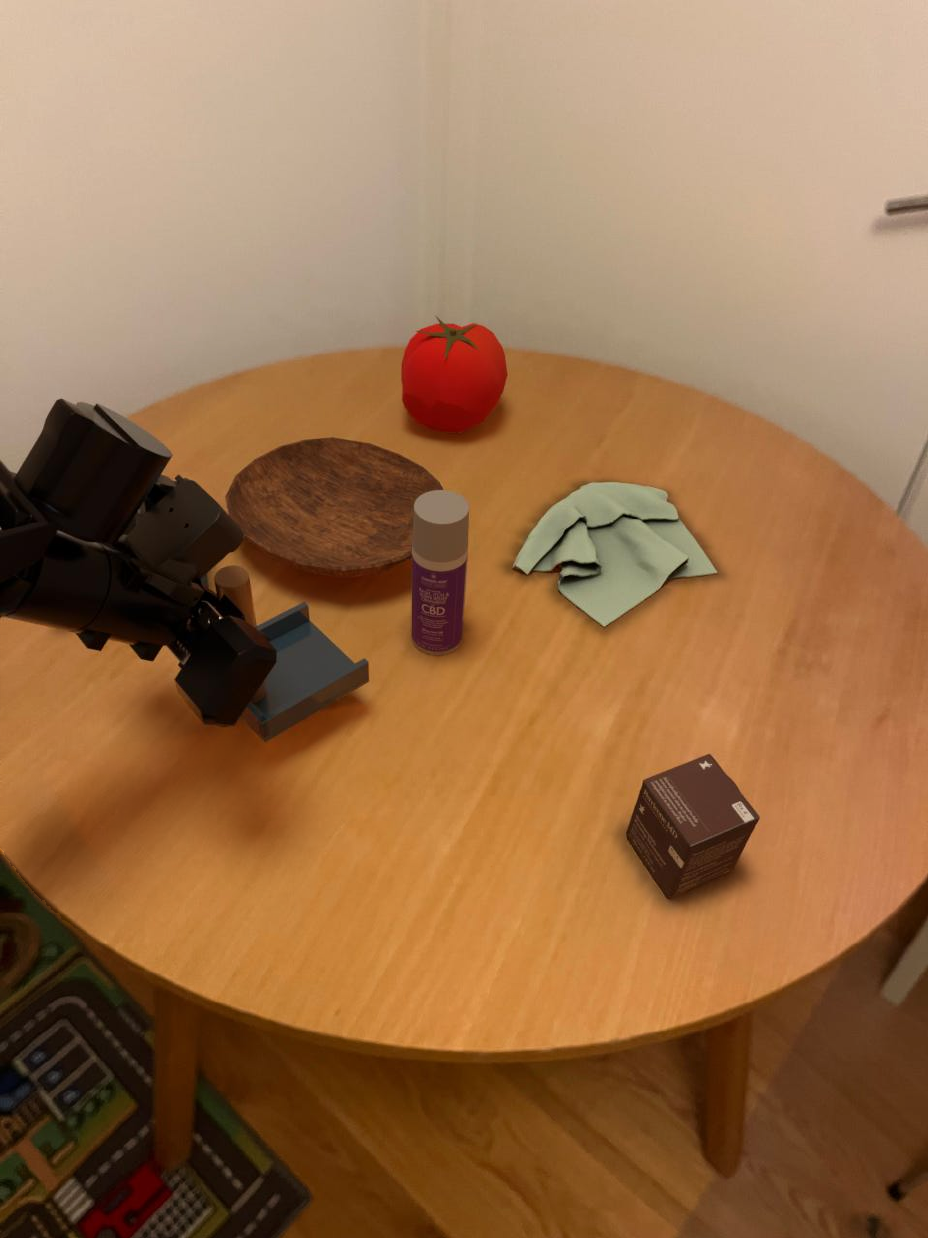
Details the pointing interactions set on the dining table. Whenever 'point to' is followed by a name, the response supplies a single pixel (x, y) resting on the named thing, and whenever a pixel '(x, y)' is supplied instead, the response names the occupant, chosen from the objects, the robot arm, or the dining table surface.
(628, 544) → the cloth
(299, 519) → the bowl
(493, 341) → the tomato
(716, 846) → the box
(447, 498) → the container
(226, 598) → the robot arm
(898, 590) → the dining table surface
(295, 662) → the tray with wooden peg
